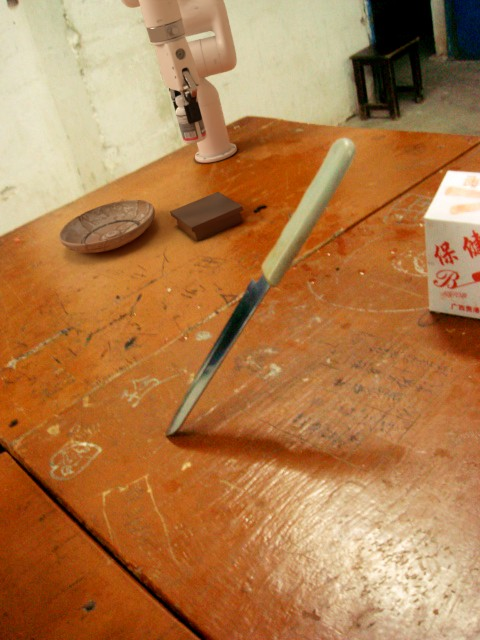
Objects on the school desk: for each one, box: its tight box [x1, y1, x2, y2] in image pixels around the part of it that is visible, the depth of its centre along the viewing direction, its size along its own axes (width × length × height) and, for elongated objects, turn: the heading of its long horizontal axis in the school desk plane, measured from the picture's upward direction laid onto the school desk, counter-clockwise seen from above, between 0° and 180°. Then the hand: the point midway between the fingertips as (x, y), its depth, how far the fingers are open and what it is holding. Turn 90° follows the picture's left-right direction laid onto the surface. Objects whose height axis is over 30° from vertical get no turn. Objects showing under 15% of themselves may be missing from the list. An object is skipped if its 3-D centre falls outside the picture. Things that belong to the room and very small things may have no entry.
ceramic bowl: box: [58, 199, 156, 254], centre depth 153 cm, size 23×24×5 cm
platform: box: [169, 191, 244, 242], centre depth 148 cm, size 13×13×4 cm
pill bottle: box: [175, 93, 207, 145], centre depth 140 cm, size 5×5×10 cm
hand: (189, 118), depth 140 cm, fingers closed on pill bottle, 5 cm apart
